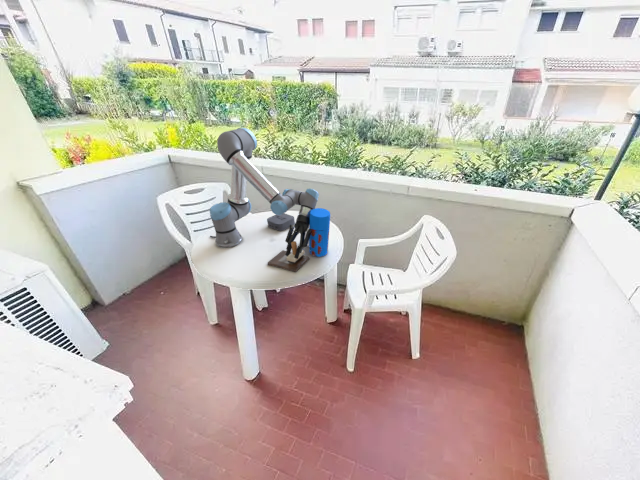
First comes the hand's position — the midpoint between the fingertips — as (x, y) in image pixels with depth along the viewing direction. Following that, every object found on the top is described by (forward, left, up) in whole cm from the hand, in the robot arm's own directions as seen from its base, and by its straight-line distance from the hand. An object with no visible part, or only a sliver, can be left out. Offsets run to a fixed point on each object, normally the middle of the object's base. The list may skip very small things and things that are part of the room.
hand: (291, 257), depth 150 cm
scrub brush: (0, +4, -3) cm, 5 cm away
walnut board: (-4, +2, -5) cm, 7 cm away
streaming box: (-35, +38, -5) cm, 51 cm away
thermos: (+6, +17, -5) cm, 19 cm away
